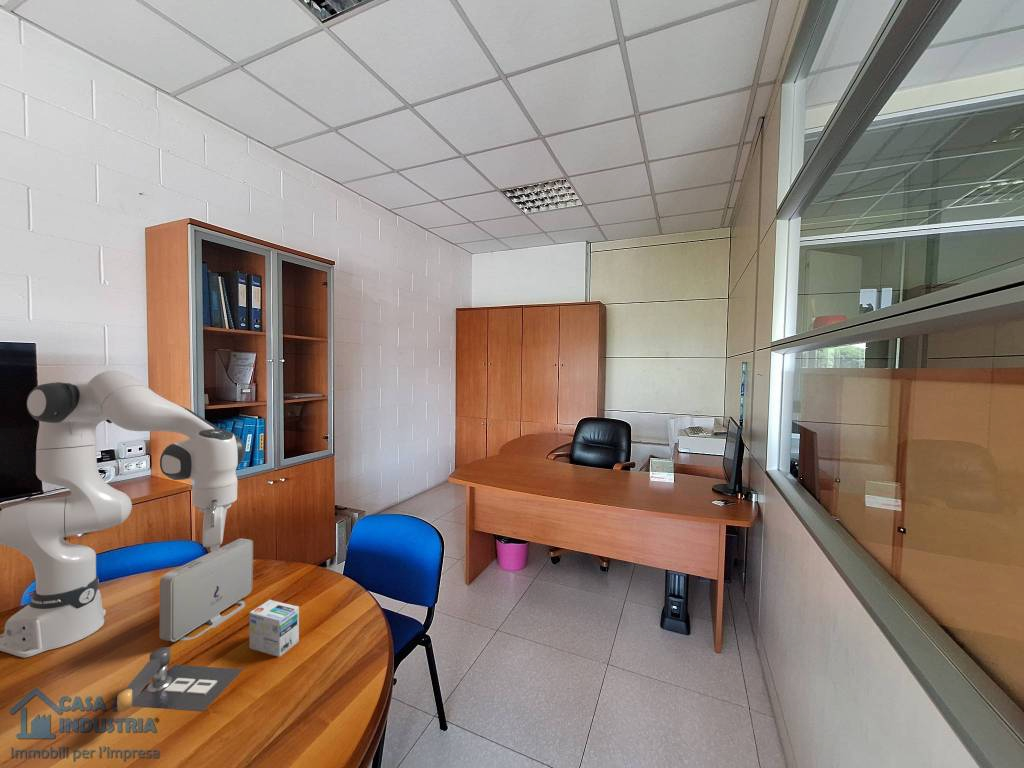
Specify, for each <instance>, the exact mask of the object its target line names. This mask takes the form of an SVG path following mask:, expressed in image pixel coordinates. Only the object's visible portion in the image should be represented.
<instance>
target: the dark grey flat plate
mask: <svg viewBox="0 0 1024 768" xmlns="http://www.w3.org/2000/svg"><path fill="white" fill-rule="evenodd" d="M243 670H244V668H230V667H229V668H228V667H217V666H216V667H215V666H201V665H184V664H174V665H173V666H171V667H170V668H169V669H167V676H170V677H172V682H171V683H170V684H172V683H173V682H174V681H175V680H176V679H177V678H187V679H195V681H194V682H193V683H192V684H191V685H190V686H189V687H188V688H187V689H186V690H184V691H183V692H182V693H179V692H165V691H164V690H165V689H166V688H167V687H168V686H169V685H170V684H169V685H168V686H167V687H165V688H163V689H161V690H159V691H156V692H149V691H147V687H145V688H144V689H143V690H142V691H141V692H140V693H139V695H138V696H137V697H136V698H135V700H134V701H133V702H132V706H131V707H137V708H149V709H150V708H152V709H165V710H178V711H179V710H180V711H181V710H182V711H191V712H192V711H194V712H204V711H206V709H208V707H209V706H210V705H211V704H212V703H213V702H214V701H215V700H216V699H217V698H218V697H219V696H220V694H222V693H223V691H224V690H225V689H227V687H228V686H229V685H230V684H231V683H232V682H233V681H234V680H235V679H236V678H237V677H238V676H239V675H240V674H241V672H242V671H243ZM200 679H201V680H216V681H217V683H216V684H215V685H214V686H213V687H212V688H211V689H210V690H209V691H208V692H207V693H206V694H194V693H187V691H188V690H189V689H190V688H191V687H192V686H193V685H194V684H195V683H196V682H198V681H199V680H200Z"/></svg>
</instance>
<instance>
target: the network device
mask: <svg viewBox="0 0 1024 768" xmlns="http://www.w3.org/2000/svg"><path fill="white" fill-rule="evenodd" d="M253 574H254V540H252V539H247V538H243V537H242V538H237V539H236V540H234V541H231V542H229V543H227V544H225V545H223V546H222V547H221V546H220V547H219V550H218V551H213V552H211V551H210V552H209V553H206V554H204V555H202V556H200V557H198V558H196V559H193V560H191V561H190V562H187V563H185V564H182V565H181V566H179V567H176V568H175V569H173V570H170V571H168V572H166V573H165V574H163V575H162V576H161V578H160V579H159V638H160V640H164V641H169V642H173V643H175V642H177V641H178V640H179V641H190V640H193V639H196V638H199V636H202V635H203V634H205V633H206V632H207V631H209V630H210V629H215V628H216V627H218V626H219V625H222V623H224V622H225V621H226V620H228V619H230V618H231V617H233V616H234V615H236V614H238V612H240V611H241V610H243V608H245V606H246V603H245V601H243V600H242V599H243V598H245V597H247V596H248V595H250V593H251V592H252V590H253V583H254V582H253V580H254V579H253V578H254V577H253V576H254V575H253ZM232 605H238V607H237V608H235V609H234V610H232V611H231V612H229V613H228V614H226V615H221V614H220V613H221V612H223V611H225V610H226V609H228V608H229V607H231V606H232ZM203 624H208V625H210V626H208V627H207V628H205V629H204V630H202V631H201V632H198V634H196V635H195V636H191V637H189V636H188V637H187V636H186V635H187V634H189V633H191V632H192V631H195V629H197V628H199V627H200V626H202V625H203Z"/></svg>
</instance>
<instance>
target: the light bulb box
mask: <svg viewBox="0 0 1024 768" xmlns="http://www.w3.org/2000/svg"><path fill="white" fill-rule="evenodd" d="M299 618H300V605H294V604H289V603H285V602H280V601H277V600H272V599H268V600H267V601H265V602H264V603H262V604H261V605H259V606H257V607H255V608H254V609H253V610H251V611H250V612H249V649H250V650H254V651H256V652H257V651H258V652H261V653H263V654H264V653H265V654H267V655H271V656H275V657H276V658H280V657H282V656H283V655H284V654H286V653H287V652H288V651H290V650H291V649H292V648H293V647H294V646H295V645H297V644H298V643H299V642H300V619H299Z"/></svg>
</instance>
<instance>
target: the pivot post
mask: <svg viewBox="0 0 1024 768" xmlns="http://www.w3.org/2000/svg"><path fill="white" fill-rule="evenodd" d="M167 671H168V664H167V665H166V666H164V667H162V668H160V669H159V670H158V671H157V672H156V674H155V675H154V676H153V677H152V679H151V680H152V681H151V682H150V683H148V684H147V687H146V688H147V691H149V692H156V691H159V690H161V689H163V688H165V687H167V686H168V685H169V684H170V683H171V682H172V677H170V676H167Z"/></svg>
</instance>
